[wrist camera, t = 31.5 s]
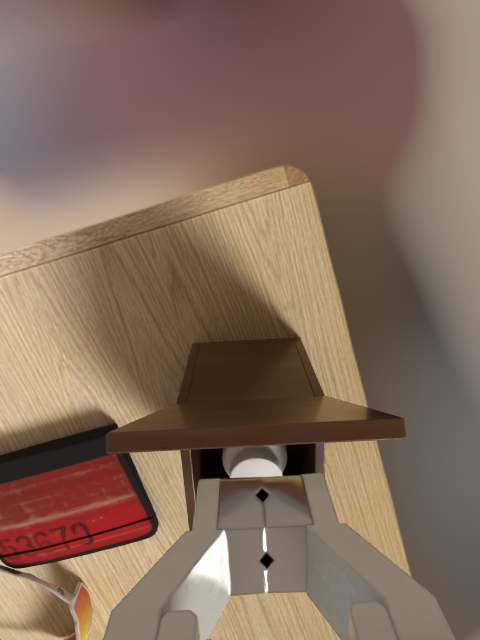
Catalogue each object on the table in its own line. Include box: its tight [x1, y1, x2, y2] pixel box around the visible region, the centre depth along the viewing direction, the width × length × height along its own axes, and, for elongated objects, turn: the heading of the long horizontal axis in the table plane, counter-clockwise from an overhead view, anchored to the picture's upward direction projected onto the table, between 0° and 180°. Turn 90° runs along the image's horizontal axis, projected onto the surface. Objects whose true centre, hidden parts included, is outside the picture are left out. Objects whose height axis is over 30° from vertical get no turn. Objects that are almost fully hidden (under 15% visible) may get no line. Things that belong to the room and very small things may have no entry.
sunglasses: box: [0, 565, 93, 640], centre depth 55 cm, size 14×15×5 cm
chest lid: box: [106, 396, 406, 454], centre depth 24 cm, size 16×12×1 cm
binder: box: [0, 424, 158, 568], centre depth 50 cm, size 16×2×21 cm
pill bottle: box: [222, 445, 287, 478], centre depth 41 cm, size 6×6×11 cm
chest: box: [176, 338, 325, 531], centre depth 40 cm, size 15×12×13 cm
